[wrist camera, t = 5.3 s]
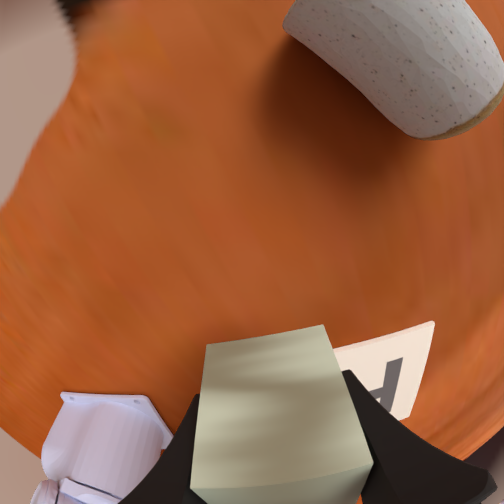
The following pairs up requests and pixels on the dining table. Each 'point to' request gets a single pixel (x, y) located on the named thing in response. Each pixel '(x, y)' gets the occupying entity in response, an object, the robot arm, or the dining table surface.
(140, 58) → the dining table surface
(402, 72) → the ceramic mug
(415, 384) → the letter card
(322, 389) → the green block
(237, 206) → the dining table surface
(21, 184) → the dining table surface
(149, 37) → the dining table surface
